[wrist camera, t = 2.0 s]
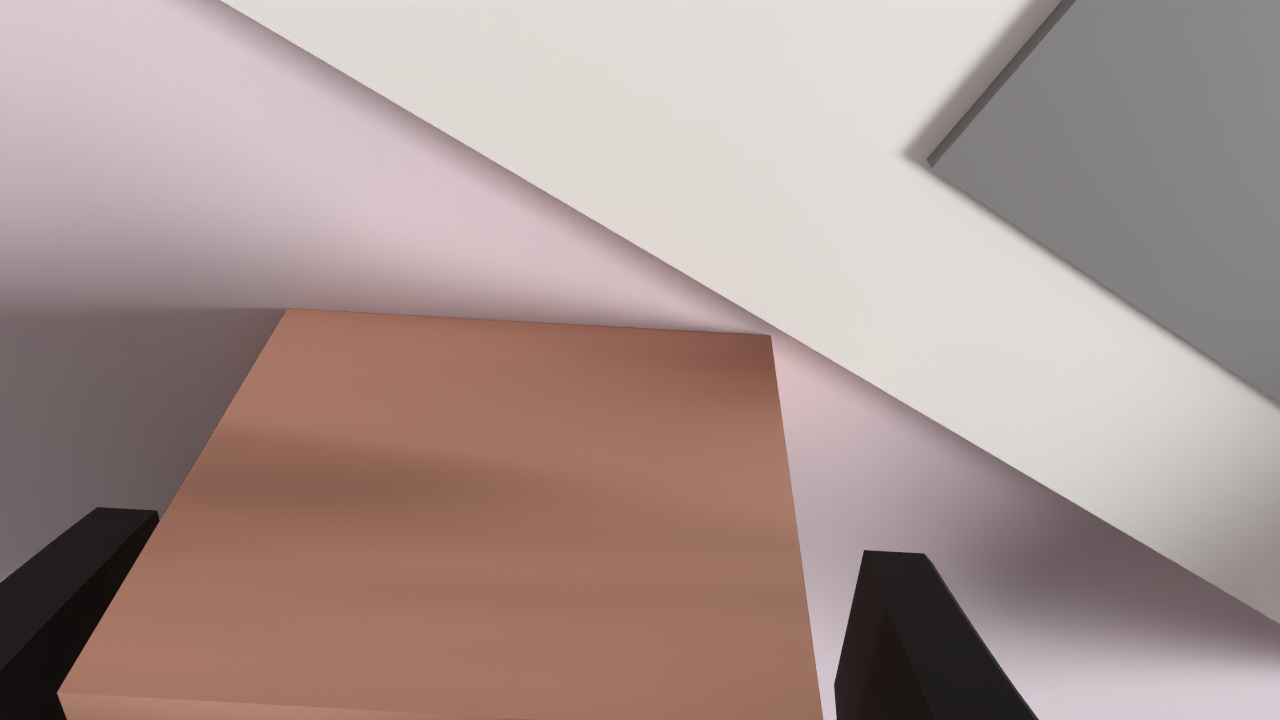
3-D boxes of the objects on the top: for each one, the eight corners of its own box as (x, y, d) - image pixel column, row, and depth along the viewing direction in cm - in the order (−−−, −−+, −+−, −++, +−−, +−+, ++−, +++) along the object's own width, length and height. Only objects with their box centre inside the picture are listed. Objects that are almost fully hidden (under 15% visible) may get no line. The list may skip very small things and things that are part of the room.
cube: (726, 658, 14) (745, 1090, 10) (340, 637, 14) (194, 1060, 10) (769, 331, 11) (824, 735, 7) (289, 304, 11) (56, 692, 7)
